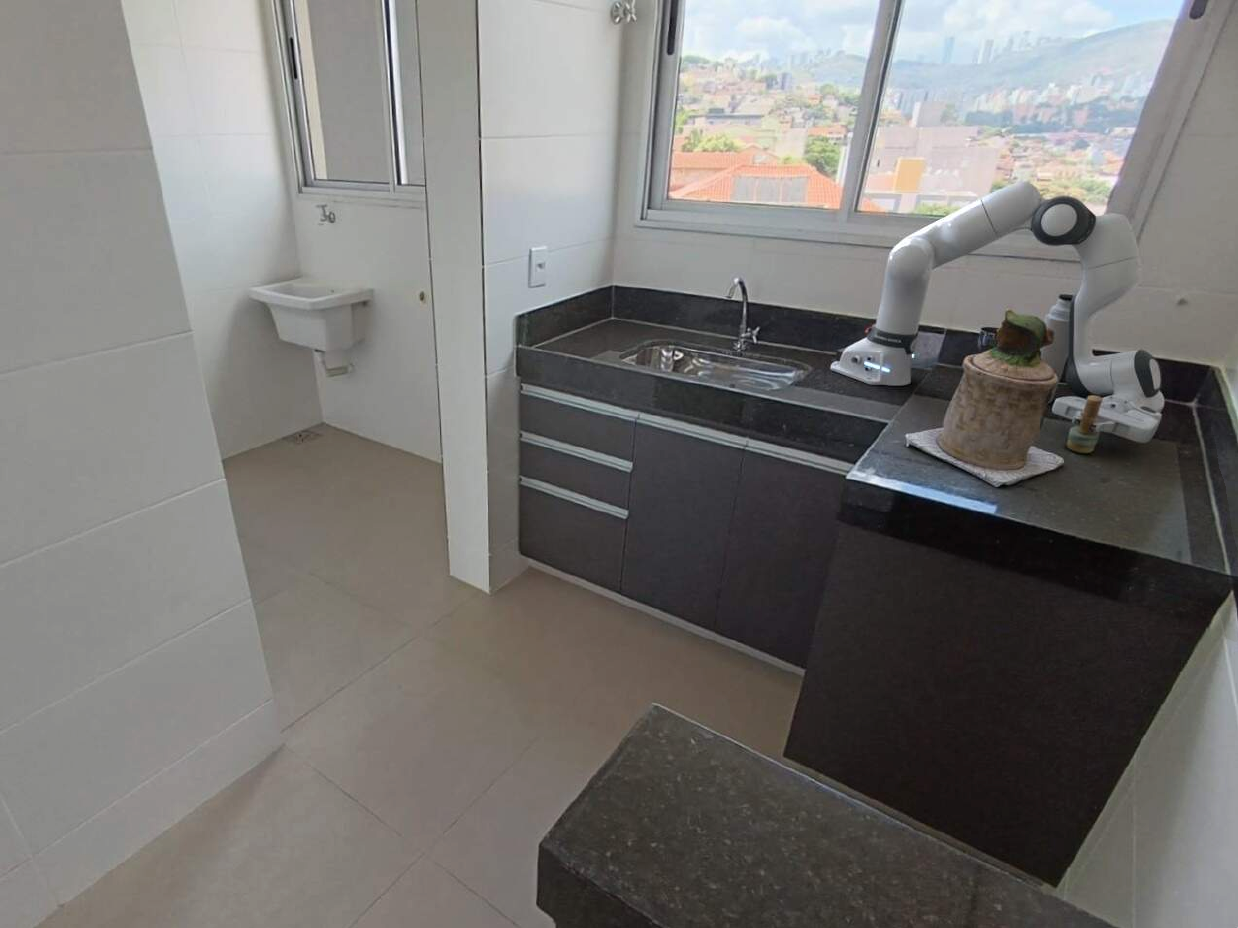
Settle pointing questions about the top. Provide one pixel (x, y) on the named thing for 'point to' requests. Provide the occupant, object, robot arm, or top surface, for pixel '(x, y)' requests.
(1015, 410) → the cookie jar
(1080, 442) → the brush
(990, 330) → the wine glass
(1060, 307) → the thermos bottle
